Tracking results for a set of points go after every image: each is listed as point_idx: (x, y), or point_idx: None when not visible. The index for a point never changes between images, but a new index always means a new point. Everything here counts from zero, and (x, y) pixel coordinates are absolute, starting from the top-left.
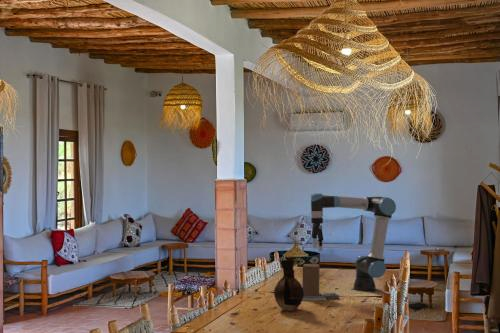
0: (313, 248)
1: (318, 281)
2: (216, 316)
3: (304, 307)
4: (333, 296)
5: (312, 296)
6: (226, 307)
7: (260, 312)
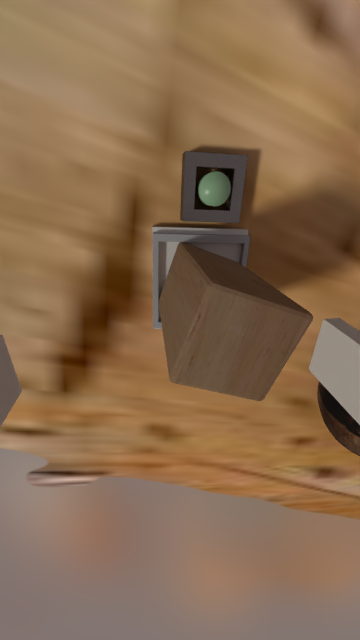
0: (19, 385)
1: (252, 276)
2: (333, 495)
3: None
4: (242, 186)
5: None
6: (263, 486)
7: None
